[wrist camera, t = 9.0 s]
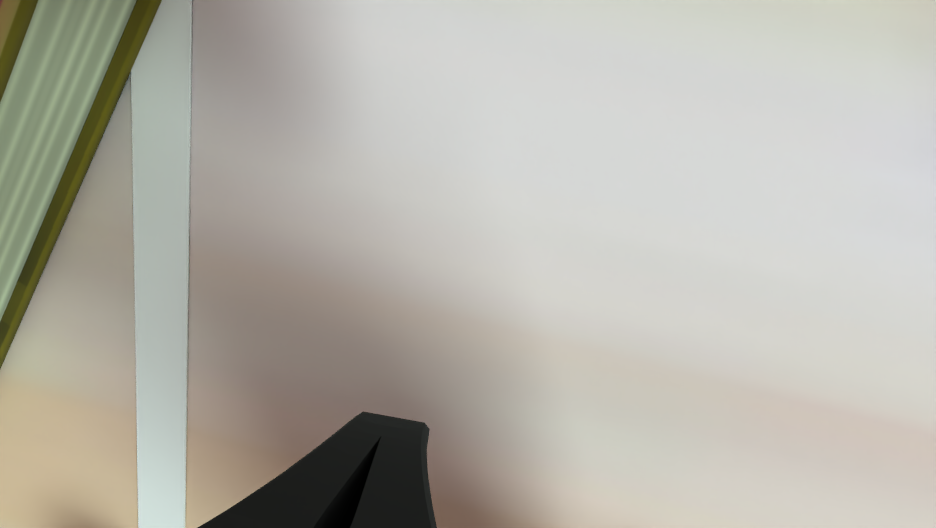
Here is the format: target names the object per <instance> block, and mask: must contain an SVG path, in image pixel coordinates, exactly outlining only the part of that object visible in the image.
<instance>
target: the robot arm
mask: <svg viewBox="0 0 936 528" xmlns="http://www.w3.org/2000/svg"><path fill="white" fill-rule="evenodd" d="M428 436H429V428H428V427H427V425H426V424H425V423H423V422H417V421H412V420H406V419H401V418H395V417H389V416H384V415H378V414H373V413H367V412H362V413H360V414H359V415H357V416H356V417H355V418H353V419H352V420H351V421H350V422H348V423H347V424H346V425H345V426H343V427H342V428H341V429H340V430H338V431H337V432H336V433H335V434H333V435H332V436H331V437H330V438H328V439H327V440H326V441H324V442H323V443H322V444H321V445H319V446H318V447H317V448H316V449H314V450H313V451H312V452H310V453H309V454H308V455H306V456H305V457H303V458H302V459H301V460H299V461H298V462H297V463H295V464H294V465H293V466H291V467H290V468H289V469H287V470H286V471H285V472H283V473H282V474H280V475H279V476H278V477H276V478H275V479H273V480H272V481H270V482H269V483H267V484H266V485H264V486H263V487H261V488H260V489H258V490H257V491H255V492H254V493H252V494H251V495H249V496H248V497H246V498H245V499H243V500H242V501H240V502H239V503H237V504H236V505H234V506H233V507H231V508H229V509H228V510H226V511H225V512H223V513H221V514H220V515H218V516H216V517H215V518H213V519H212V520H210V521H208V522H207V523H205V524H203V525H201V526H200V527H198V528H437V527H436V522H435V517H434V512H433V507H432V500H431V494H430V487H429V480H428V471H427V443H428Z"/></svg>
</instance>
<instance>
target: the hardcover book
mask: <svg viewBox="0 0 936 528" xmlns="http://www.w3.org/2000/svg"><path fill="white" fill-rule="evenodd" d="M161 1H162V0H0V368H1V366H2V364H3V361H4V359H5V357H6V355H7V352H8V350H9V348H10V345H11V343H12V341H13V339H14V336H15V334H16V332H17V329H18V327H19V325H20V323H21V320H22V318H23V316H24V314H25V311H26V309H27V307H28V304H29V302H30V300H31V298H32V295H33V293H34V291H35V288H36V286H37V284H38V282H39V279H40V277H41V275H42V272H43V270H44V268H45V266H46V263H47V261H48V259H49V256H50V254H51V252H52V250H53V247H54V245H55V243H56V241H57V238H58V236H59V234H60V231H61V229H62V227H63V225H64V222H65V220H66V218H67V215H68V213H69V211H70V209H71V206H72V204H73V202H74V199H75V197H76V195H77V193H78V190H79V188H80V186H81V184H82V181H83V179H84V177H85V174H86V172H87V170H88V168H89V165H90V163H91V161H92V158H93V156H94V154H95V152H96V149H97V147H98V145H99V142H100V140H101V138H102V136H103V133H104V131H105V129H106V126H107V124H108V122H109V120H110V117H111V115H112V113H113V111H114V108H115V106H116V104H117V101H118V99H119V97H120V95H121V92H122V90H123V88H124V85H125V83H126V81H127V79H128V76H129V74H130V72H131V69H132V67H133V65H134V63H135V60H136V58H137V56H138V54H139V51H140V49H141V47H142V44H143V42H144V40H145V38H146V35H147V33H148V31H149V28H150V26H151V24H152V22H153V19H154V17H155V15H156V12H157V10H158V8H159V6H160V3H161Z"/></svg>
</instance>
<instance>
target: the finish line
mask: <svg viewBox="0 0 936 528" xmlns="http://www.w3.org/2000/svg"><path fill="white" fill-rule="evenodd" d="M191 45H192V0H162V1H161V3H160V6H159V8H158V10H157V12H156V15H155V17H154V19H153V22H152V24H151V26H150V28H149V31H148V33H147V35H146V38H145V40H144V42H143V44H142V47H141V49H140V51H139V54H138V56H137V58H136V60H135V63H134V65H133V67H132V69H131V108H132V169H133V230H134V291H135V352H136V413H137V474H138V528H185V506H186V429H187V353H188V276H189V199H190V122H191Z"/></svg>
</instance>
